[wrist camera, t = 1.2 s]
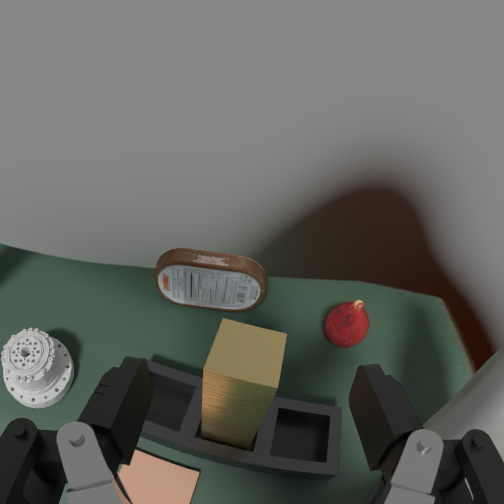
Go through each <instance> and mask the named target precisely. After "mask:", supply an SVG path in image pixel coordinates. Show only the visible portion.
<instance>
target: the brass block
mask: <svg viewBox="0 0 504 504" xmlns="http://www.w3.org/2000/svg"><path fill="white" fill-rule="evenodd" d="M286 336H287V334H286V333H282V332H278V331H273V330H269V329H265V328H261V327H256V326H252V325H248V324H244V323H240V322H236V321H233V320H229V319H225V318H223V320H222V322H221V325H220V327H219V330H218V333H217V335H216V338H215V340H214V343H213V346H212V348H211V351H210V353H209V356H208V359H207V361H206V364H205V366H204V369H203V390H202V425H201V439H203V440H207V441H210V442H214V443H217V444H221V445H225V446H229V447H233V448H237V449H242V450H246V451H247V450H248V448H249V446H250V444H251V442H252V440H253V438H254V436H255V434H256V432H257V430H258V428H259V426H260V424H261V422H262V420H263V418H264V416H265V414H266V412H267V410H268V408H269V406H270V404H271V402H272V400H273V398H274V395H275V393H276V391H277V389H278V385H279V379H280V373H281V367H282V361H283V355H284V349H285V343H286Z"/></svg>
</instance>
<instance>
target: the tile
mask: <svg viewBox="0 0 504 504" xmlns="http://www.w3.org/2000/svg"><path fill="white" fill-rule="evenodd" d="M199 474H200V472H197V471H194V470H190V469H187V468H184V467H181V466H178V465H175V464H172V463H169V462H166V461H164V460H161V459H158V458H156V457H153V456H150V455H148V454H145V453H143V452H140V451H138V450H136V449H135V451H134V454H133V457H132V460H131V463H130V466H128V465H124V464H123V465H122V468H121V470H120V472H119V476H120V478H121V480H122V482H123V484H124V486H125V488H126V490H127V492H128V494H129V496H130V498H131V500H132V502H133V503H134V504H190V501H191V498H192V495H193V492H194V489H195V486H196V483H197V480H198V477H199Z"/></svg>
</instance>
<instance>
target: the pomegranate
mask: <svg viewBox="0 0 504 504" xmlns="http://www.w3.org/2000/svg"><path fill="white" fill-rule="evenodd" d="M363 306H364V303H363V301H362V300H358V299H357V300H356V301H355V302H343V303H341V304H339V305H337V306H335V307H334V308H333V309H332V310H331V311H330V313H329V314H328V316H327V317H326V319H325V326H324V330H325V334H326V337H327V339H328V340H329V341H330V342H331V343H332V344H333V345H335V346H337V347H342V348H348V347H352V346H355V345H357V344H359V343H360V342H361V341H362V340H363V339H364V338H365V336H366V334H367V331H368V329H369V319H368V315H367V312H366V311H365V310H364V308H363Z"/></svg>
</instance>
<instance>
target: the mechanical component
mask: <svg viewBox="0 0 504 504" xmlns="http://www.w3.org/2000/svg"><path fill="white" fill-rule="evenodd" d="M3 348H4V351H2V353H1V354H2V358H1V361H2V365H3V368H4V369H3V373H4V381H5V384H6V387H7V389H8V390H9V392H10V393H11V394H12V395H13V396H14V398H15V399H16V400H18V401H19V402H20V403H21V404H23V405H25V406H27V407H31V408H45V407H48V406H51V405H53V404H55V403H57V402H58V401H60V400H61V399H62V398H63V397H64V396H65V395H66V394H67V392H68V390H69V389H70V387H71V384H72V381H73V378H74V364H73V360H72V358H71V356H70V354H69V352H68V350H67V348H66V347H65V346H64V345H63V344H62V343H61V342H60V341H59V340H57V339H55V338H53V337H50V336H49V335H48V334H46V333H45V332H42V331H39V330H38V329H37V328H36V329H35V330H33V329H32V328H29V329H28V330H26V329H23V330H22V332H20V333H18V334H16V335H12V336H11V339H10V340H9V342H8V343H7V344H6V345H4V346H3Z"/></svg>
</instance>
